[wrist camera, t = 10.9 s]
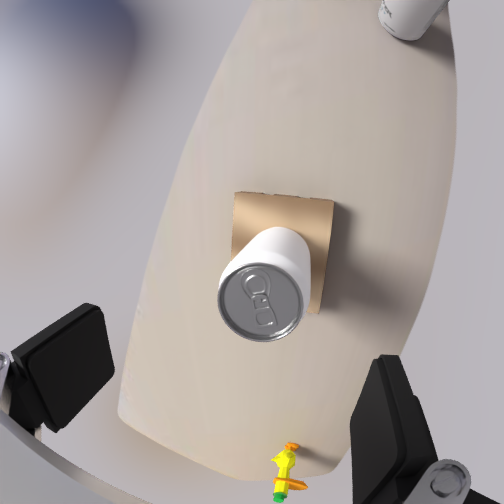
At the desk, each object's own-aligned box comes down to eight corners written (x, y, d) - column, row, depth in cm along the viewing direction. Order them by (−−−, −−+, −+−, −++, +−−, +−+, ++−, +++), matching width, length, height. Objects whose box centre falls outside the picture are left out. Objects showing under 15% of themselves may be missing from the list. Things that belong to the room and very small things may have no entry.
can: (302, 219, 28) (298, 246, 17) (315, 280, 29) (318, 340, 18) (241, 233, 30) (198, 266, 18) (256, 291, 31) (226, 352, 20)
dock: (241, 191, 32) (234, 192, 29) (331, 200, 30) (334, 201, 27) (235, 291, 35) (229, 301, 32) (318, 302, 33) (318, 313, 30)
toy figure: (314, 445, 39) (310, 501, 28) (306, 455, 40) (300, 509, 29) (278, 436, 40) (266, 493, 29) (270, 446, 41) (258, 501, 30)
